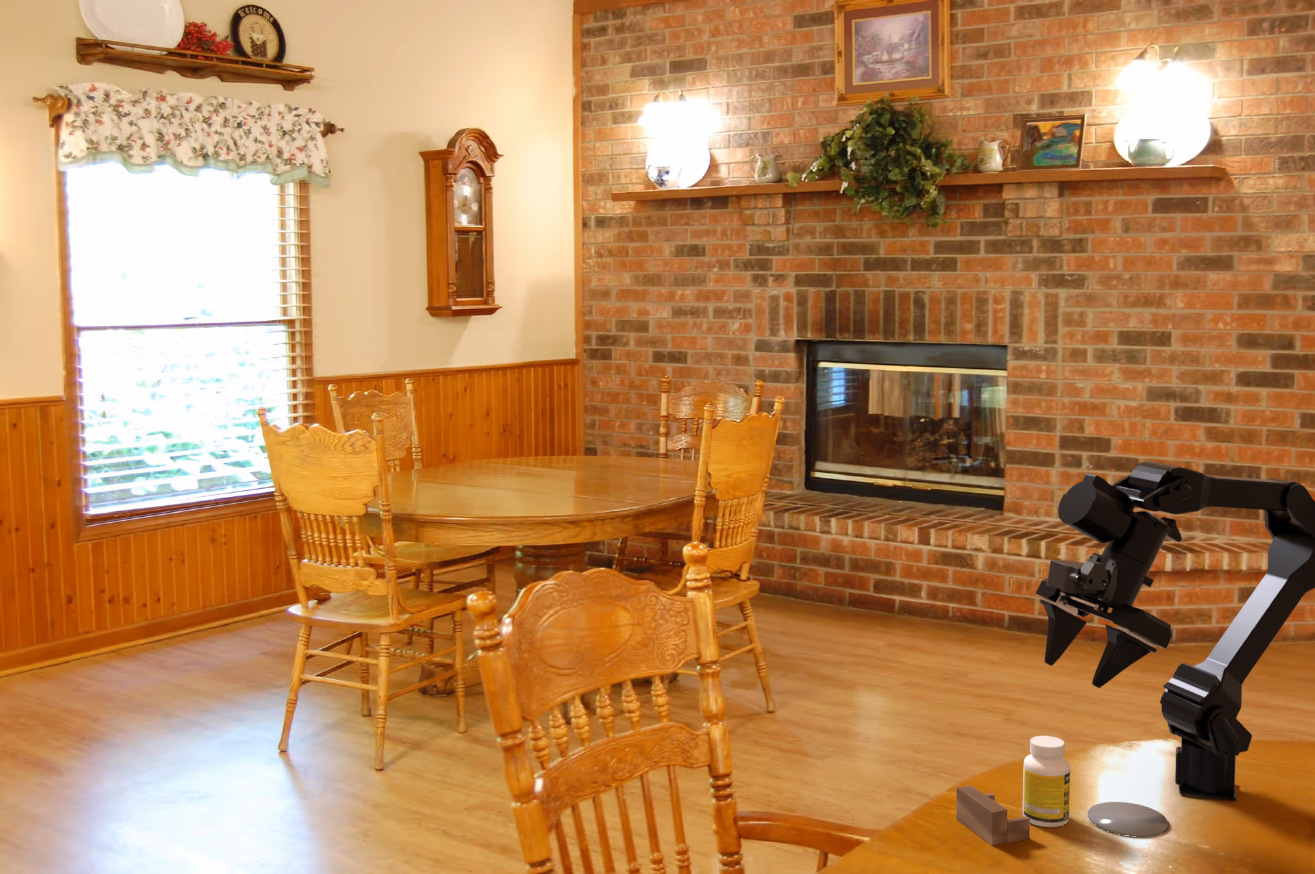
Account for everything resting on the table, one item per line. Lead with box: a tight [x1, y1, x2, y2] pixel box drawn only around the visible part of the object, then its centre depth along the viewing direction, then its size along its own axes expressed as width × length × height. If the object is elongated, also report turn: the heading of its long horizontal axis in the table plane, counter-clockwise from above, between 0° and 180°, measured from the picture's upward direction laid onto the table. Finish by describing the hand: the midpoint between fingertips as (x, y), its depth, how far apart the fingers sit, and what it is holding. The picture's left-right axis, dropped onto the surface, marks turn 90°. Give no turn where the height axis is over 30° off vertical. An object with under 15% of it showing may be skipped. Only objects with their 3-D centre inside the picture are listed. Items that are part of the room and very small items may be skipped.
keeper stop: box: [956, 785, 1031, 846], centre depth 147 cm, size 5×8×4 cm, turn 18°
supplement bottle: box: [1022, 735, 1071, 828], centre depth 149 cm, size 5×5×10 cm
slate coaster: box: [1087, 801, 1168, 838], centre depth 149 cm, size 9×9×1 cm
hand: (1071, 675), depth 149 cm, fingers open, 9 cm apart
